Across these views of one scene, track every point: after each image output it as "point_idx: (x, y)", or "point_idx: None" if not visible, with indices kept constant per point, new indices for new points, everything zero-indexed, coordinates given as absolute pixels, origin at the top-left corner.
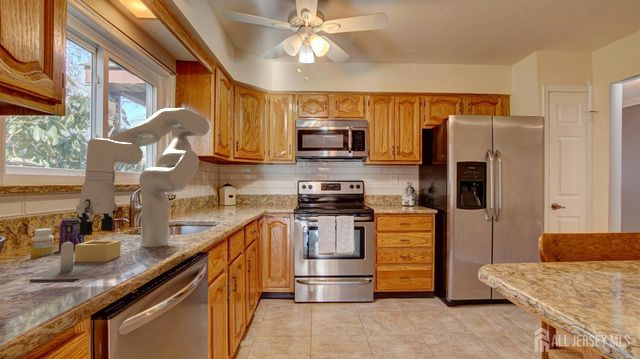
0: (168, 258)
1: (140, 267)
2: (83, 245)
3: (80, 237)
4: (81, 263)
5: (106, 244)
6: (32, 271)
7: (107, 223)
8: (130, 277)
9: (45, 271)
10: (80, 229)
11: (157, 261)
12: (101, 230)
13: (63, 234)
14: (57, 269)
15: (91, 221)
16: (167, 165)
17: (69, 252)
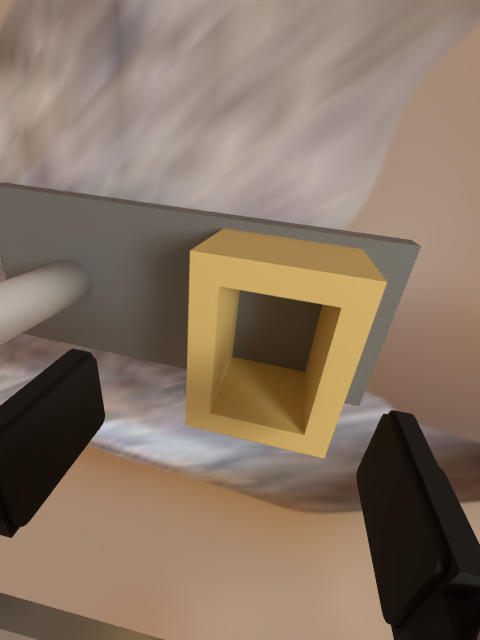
0: (311, 509)
1: (196, 451)
2: (190, 304)
3: None
4: (182, 281)
5: (198, 419)
6: (150, 31)
7: (387, 535)
8: (98, 442)
9: (49, 196)
10: (39, 383)
11: (271, 484)
12: (385, 415)
13: None
14: (83, 230)
15: (5, 529)
16: None
17: None
